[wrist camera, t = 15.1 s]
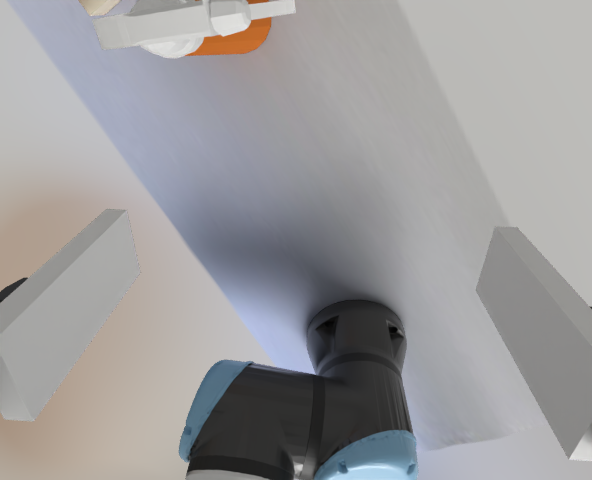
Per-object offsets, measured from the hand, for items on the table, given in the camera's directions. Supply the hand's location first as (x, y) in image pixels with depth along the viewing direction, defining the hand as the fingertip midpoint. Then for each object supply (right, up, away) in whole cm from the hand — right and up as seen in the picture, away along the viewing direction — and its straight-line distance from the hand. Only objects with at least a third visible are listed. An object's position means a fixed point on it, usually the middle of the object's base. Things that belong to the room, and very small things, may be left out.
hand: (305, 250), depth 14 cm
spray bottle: (-5, +24, +26) cm, 35 cm away
